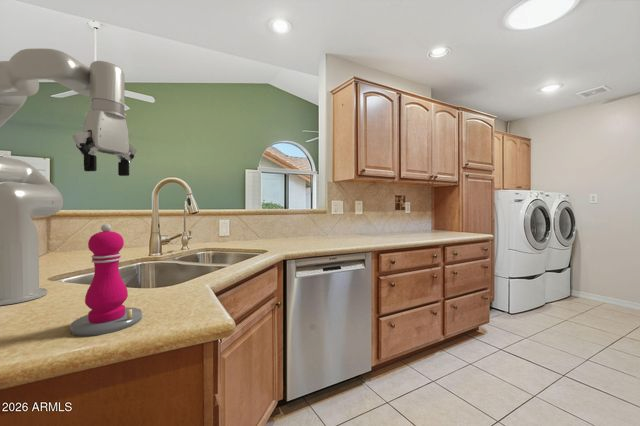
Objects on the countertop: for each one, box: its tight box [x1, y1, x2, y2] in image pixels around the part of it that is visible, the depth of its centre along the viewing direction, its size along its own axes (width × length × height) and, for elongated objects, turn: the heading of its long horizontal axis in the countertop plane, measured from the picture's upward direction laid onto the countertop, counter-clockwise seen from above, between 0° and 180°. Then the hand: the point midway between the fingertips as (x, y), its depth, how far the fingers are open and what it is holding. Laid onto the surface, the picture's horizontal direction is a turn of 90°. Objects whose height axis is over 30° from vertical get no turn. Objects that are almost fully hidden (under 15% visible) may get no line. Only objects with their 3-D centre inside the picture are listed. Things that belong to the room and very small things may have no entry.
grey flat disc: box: [70, 306, 143, 337], centre depth 59 cm, size 12×12×3 cm
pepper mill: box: [84, 223, 129, 323], centre depth 59 cm, size 7×7×20 cm
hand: (108, 173), depth 76 cm, fingers open, 9 cm apart
